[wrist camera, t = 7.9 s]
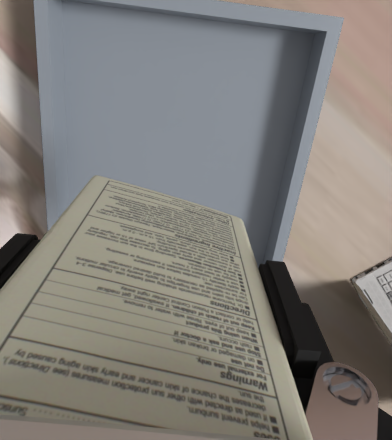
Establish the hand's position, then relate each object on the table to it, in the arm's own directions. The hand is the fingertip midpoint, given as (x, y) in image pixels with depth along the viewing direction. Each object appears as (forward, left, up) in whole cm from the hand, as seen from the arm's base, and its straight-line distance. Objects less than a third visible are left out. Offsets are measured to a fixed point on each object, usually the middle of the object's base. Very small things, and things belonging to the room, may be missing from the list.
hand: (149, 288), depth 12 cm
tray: (0, 0, -17) cm, 17 cm away
